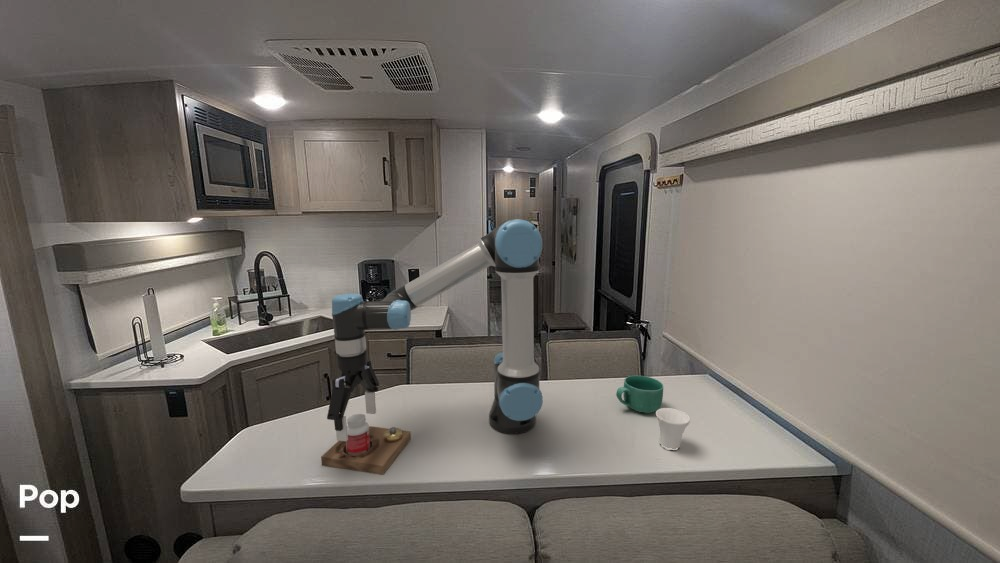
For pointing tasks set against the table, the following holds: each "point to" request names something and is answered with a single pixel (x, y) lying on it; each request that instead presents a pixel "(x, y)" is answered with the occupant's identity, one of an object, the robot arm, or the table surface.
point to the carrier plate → (367, 453)
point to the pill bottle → (357, 435)
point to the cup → (671, 426)
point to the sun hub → (392, 435)
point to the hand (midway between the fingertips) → (357, 425)
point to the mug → (641, 393)
